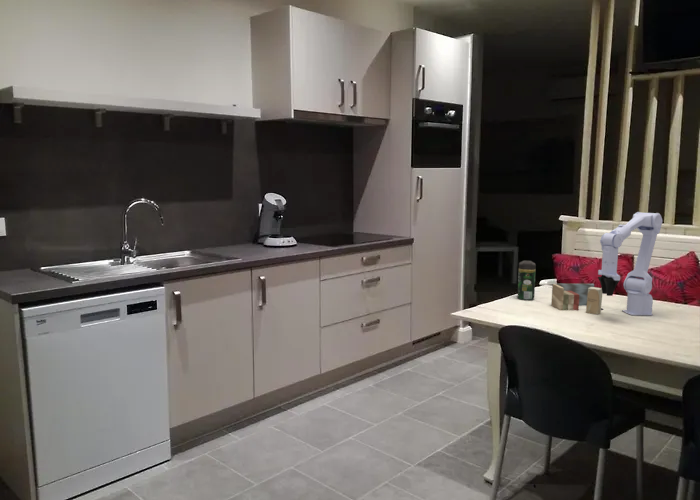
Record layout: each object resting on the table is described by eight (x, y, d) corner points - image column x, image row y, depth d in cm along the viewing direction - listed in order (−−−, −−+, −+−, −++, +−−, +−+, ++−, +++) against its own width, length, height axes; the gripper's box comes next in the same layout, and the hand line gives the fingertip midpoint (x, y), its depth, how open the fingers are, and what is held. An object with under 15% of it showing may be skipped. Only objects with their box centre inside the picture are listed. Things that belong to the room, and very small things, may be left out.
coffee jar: (517, 296, 274) (518, 259, 272) (533, 297, 272) (535, 260, 269) (517, 300, 265) (519, 261, 262) (534, 301, 263) (536, 262, 260)
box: (585, 312, 240) (587, 287, 239) (589, 311, 243) (590, 286, 242) (598, 314, 237) (599, 289, 235) (601, 313, 240) (603, 288, 238)
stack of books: (593, 305, 255) (594, 283, 254) (603, 310, 245) (605, 288, 244) (550, 304, 255) (551, 283, 254) (559, 310, 245) (560, 288, 243)
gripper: (591, 259, 233) (589, 291, 235) (608, 264, 219) (606, 298, 221) (608, 259, 233) (606, 291, 235) (626, 264, 219) (623, 298, 221)
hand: (607, 294), depth 228 cm, fingers open, 3 cm apart
